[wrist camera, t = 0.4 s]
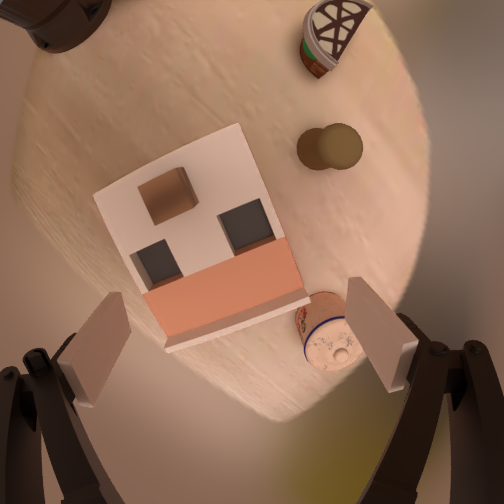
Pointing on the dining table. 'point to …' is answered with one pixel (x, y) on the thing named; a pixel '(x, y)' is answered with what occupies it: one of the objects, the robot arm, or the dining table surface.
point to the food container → (329, 32)
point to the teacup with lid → (327, 333)
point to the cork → (330, 147)
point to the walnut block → (168, 195)
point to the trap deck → (206, 243)
